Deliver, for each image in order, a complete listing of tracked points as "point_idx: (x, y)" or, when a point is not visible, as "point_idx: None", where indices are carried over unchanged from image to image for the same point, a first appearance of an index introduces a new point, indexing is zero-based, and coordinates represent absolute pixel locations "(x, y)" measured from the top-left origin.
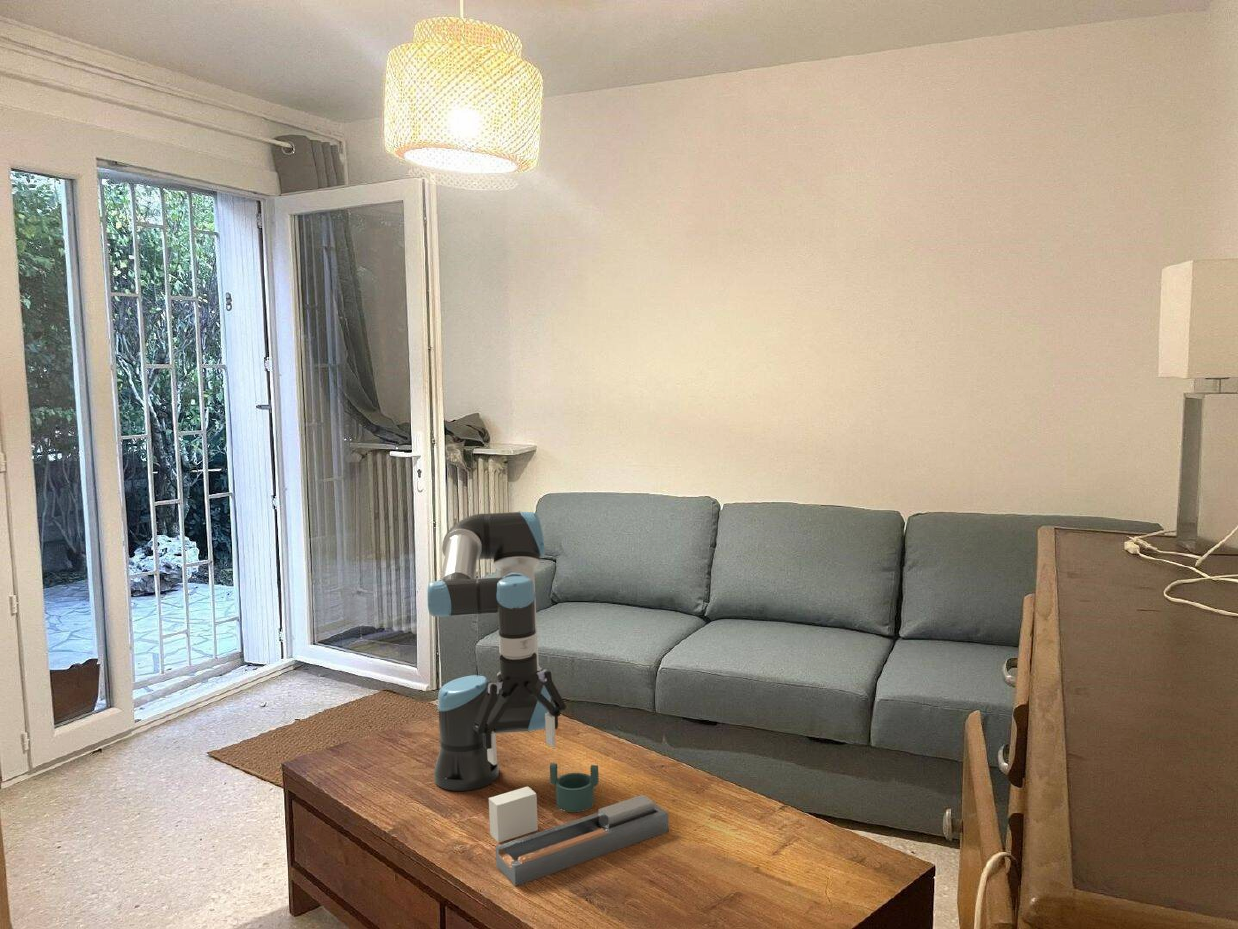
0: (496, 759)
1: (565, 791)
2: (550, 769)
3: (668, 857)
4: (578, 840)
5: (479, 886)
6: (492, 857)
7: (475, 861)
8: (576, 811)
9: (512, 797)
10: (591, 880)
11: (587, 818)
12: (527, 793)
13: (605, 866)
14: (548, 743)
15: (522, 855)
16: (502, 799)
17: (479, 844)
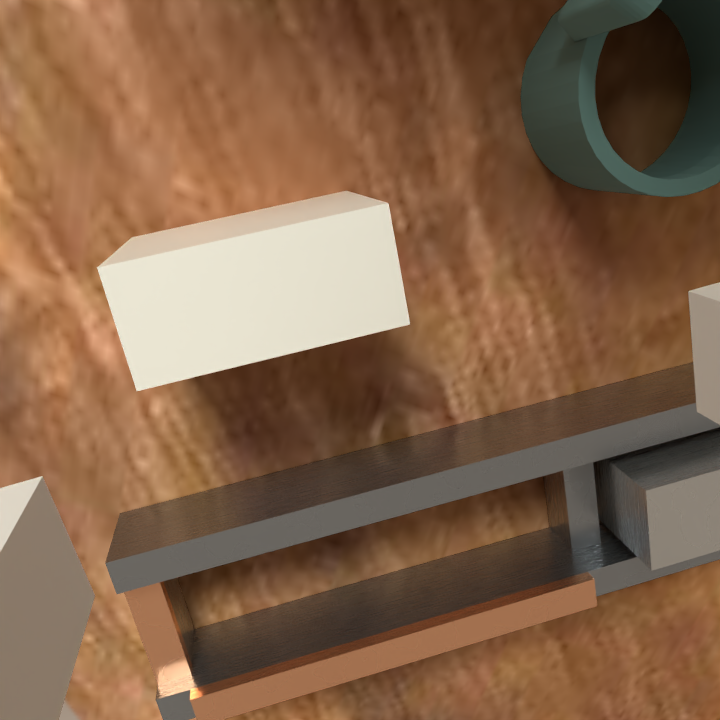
0: (80, 633)
1: (593, 161)
2: (607, 4)
3: (715, 625)
4: (469, 642)
5: None
6: (113, 442)
7: (30, 449)
8: (582, 187)
9: (256, 320)
10: (439, 686)
11: (578, 454)
12: (360, 301)
13: None
14: (700, 342)
15: (210, 694)
16: (187, 324)
17: (64, 310)
